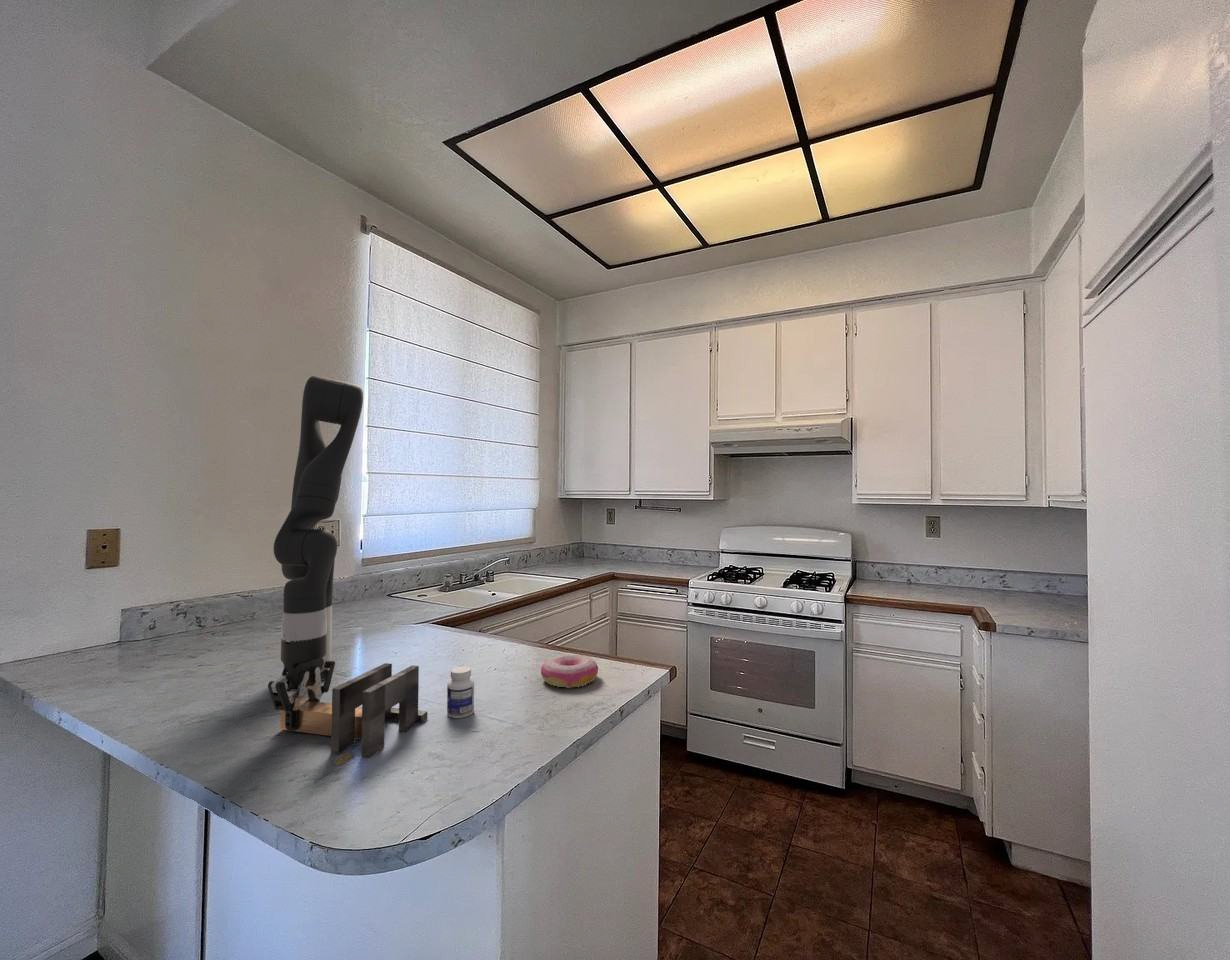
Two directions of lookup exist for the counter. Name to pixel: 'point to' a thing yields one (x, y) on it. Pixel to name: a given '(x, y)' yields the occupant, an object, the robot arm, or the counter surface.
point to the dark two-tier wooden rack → (374, 708)
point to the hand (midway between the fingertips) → (302, 723)
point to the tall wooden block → (320, 718)
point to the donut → (569, 670)
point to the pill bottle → (460, 693)
